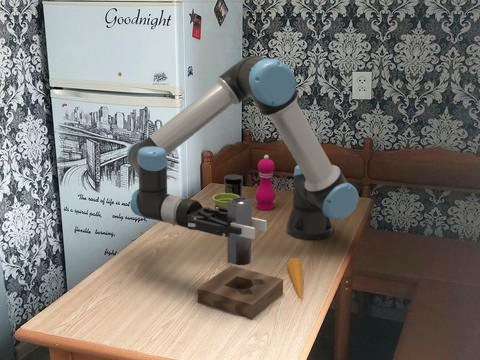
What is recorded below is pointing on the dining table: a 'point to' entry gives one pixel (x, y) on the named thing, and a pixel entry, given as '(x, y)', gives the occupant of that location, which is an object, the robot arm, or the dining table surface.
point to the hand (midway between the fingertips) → (260, 229)
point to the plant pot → (224, 199)
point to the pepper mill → (265, 185)
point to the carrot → (296, 275)
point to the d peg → (237, 244)
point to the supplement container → (233, 184)
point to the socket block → (240, 291)
